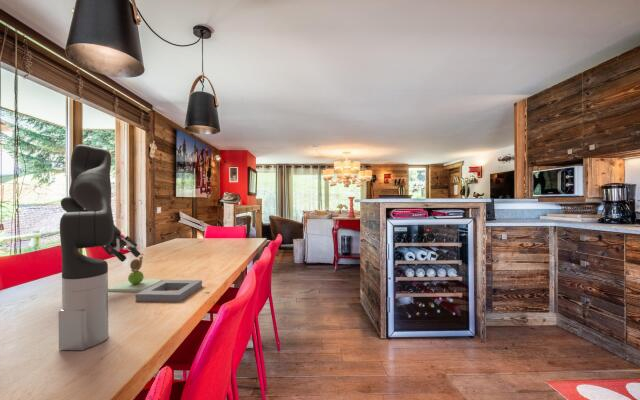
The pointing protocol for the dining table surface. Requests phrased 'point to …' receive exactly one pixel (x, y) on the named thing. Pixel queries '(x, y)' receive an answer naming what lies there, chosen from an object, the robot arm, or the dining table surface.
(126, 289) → the green mat
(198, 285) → the gray square frame
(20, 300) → the dining table surface
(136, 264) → the snail figurine
